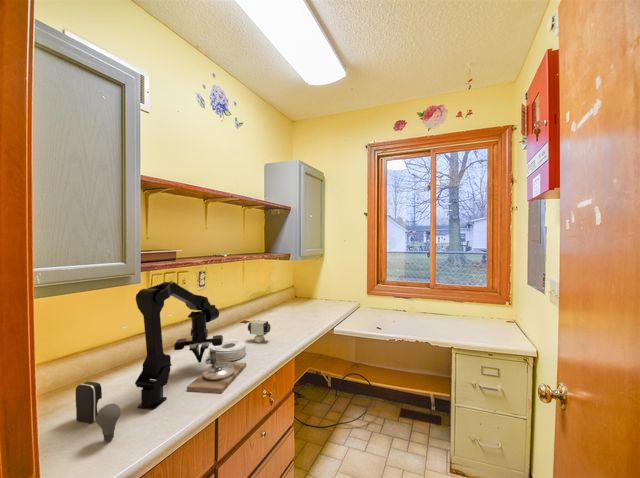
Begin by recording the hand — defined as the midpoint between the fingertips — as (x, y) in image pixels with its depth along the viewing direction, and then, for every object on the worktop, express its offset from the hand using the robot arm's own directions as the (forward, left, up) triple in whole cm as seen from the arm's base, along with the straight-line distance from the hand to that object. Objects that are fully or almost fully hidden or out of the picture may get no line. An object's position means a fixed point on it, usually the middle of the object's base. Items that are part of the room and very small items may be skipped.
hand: (199, 362), depth 121 cm
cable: (+17, -4, -5) cm, 18 cm away
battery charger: (-34, +17, -4) cm, 38 cm away
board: (-4, -11, -4) cm, 12 cm away
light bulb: (-42, +2, -4) cm, 42 cm away
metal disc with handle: (-3, -10, -2) cm, 10 cm away
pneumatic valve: (+37, -13, -4) cm, 39 cm away
